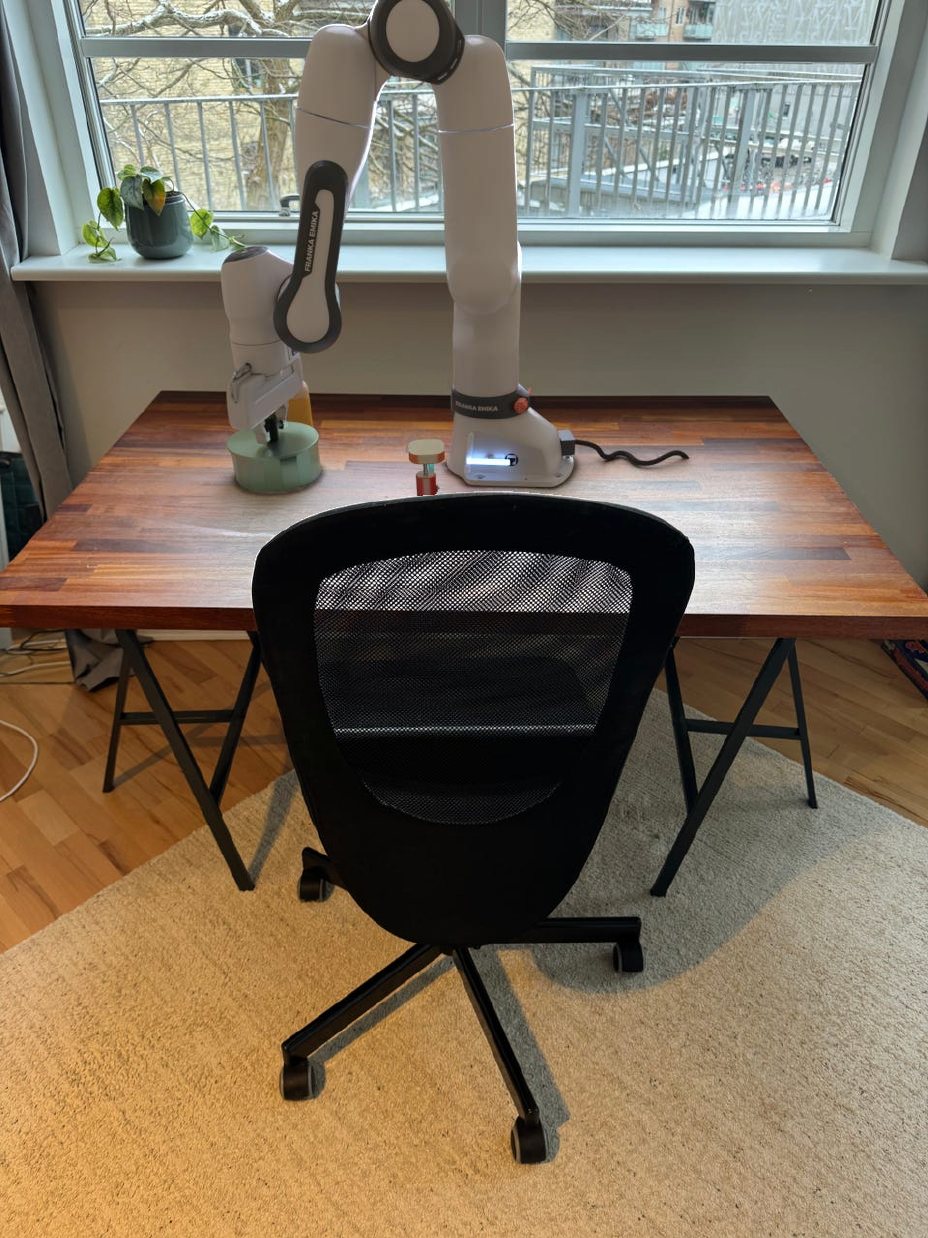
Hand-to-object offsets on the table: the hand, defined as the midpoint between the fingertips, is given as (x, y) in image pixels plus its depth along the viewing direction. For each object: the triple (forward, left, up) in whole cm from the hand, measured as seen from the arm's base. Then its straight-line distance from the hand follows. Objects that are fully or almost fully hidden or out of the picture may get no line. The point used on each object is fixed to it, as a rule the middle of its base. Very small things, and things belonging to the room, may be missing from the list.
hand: (272, 435), depth 151 cm
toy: (+4, -18, -8) cm, 20 cm away
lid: (0, 0, -1) cm, 1 cm away
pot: (0, 0, -8) cm, 8 cm away
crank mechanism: (-33, +15, -8) cm, 37 cm away
